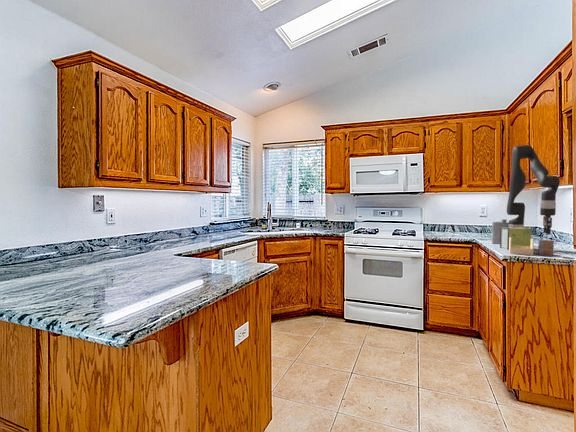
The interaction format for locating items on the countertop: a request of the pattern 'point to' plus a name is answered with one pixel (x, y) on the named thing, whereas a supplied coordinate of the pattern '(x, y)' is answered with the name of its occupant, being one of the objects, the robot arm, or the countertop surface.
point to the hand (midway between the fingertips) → (546, 233)
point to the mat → (545, 255)
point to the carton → (521, 248)
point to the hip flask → (498, 230)
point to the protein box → (515, 237)
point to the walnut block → (545, 247)
